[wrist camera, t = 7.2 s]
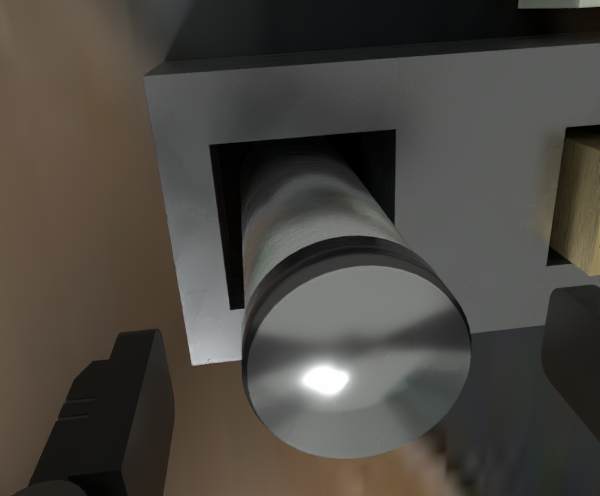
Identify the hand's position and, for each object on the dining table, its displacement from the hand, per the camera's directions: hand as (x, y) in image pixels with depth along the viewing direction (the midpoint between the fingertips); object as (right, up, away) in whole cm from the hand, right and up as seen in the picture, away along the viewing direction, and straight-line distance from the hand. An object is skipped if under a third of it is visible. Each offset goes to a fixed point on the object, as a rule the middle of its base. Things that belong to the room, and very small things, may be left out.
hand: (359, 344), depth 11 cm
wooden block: (+8, +5, +11) cm, 15 cm away
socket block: (+3, +5, +12) cm, 13 cm away
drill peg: (-2, +5, +11) cm, 12 cm away
